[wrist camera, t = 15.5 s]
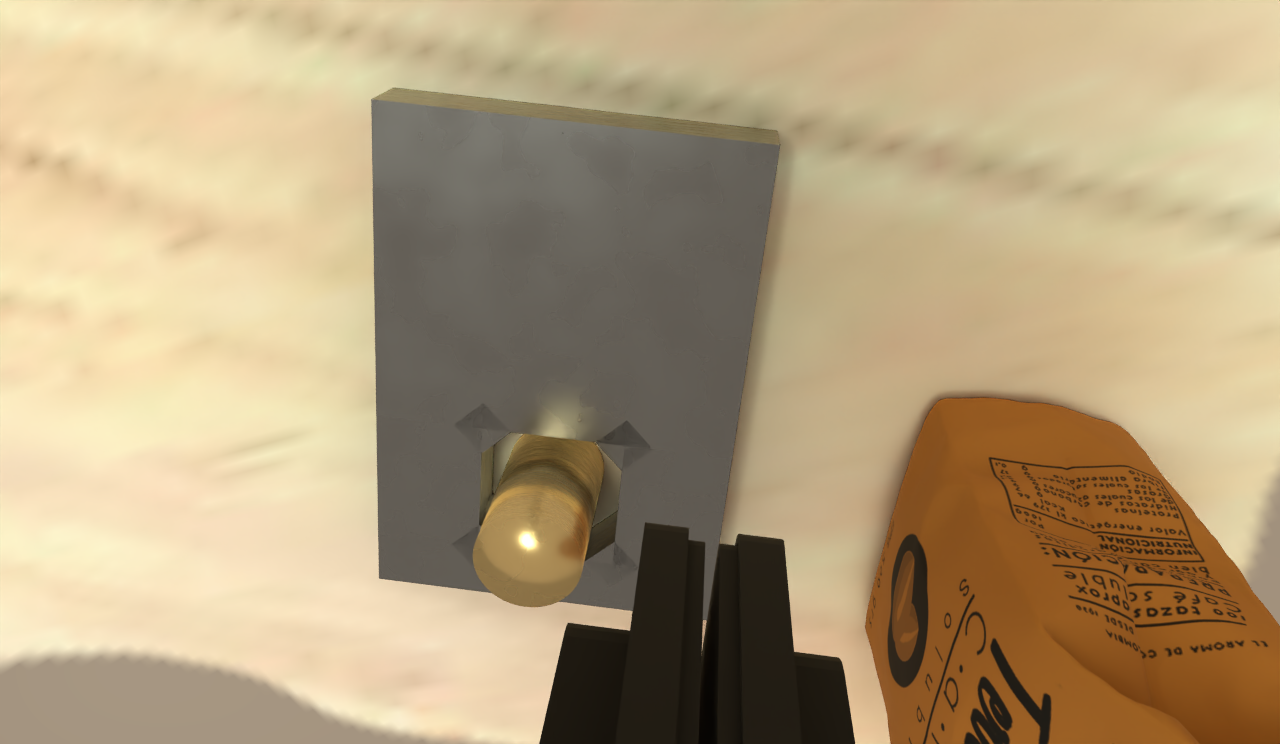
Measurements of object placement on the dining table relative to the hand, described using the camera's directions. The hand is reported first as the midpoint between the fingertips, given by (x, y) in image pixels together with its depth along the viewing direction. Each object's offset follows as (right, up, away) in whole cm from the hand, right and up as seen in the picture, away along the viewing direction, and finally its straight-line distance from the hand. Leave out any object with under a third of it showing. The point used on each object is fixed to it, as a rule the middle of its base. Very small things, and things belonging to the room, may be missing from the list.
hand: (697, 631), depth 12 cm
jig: (-4, +4, +29) cm, 29 cm away
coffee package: (+14, -3, +30) cm, 33 cm away
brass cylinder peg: (-4, -1, +31) cm, 31 cm away
